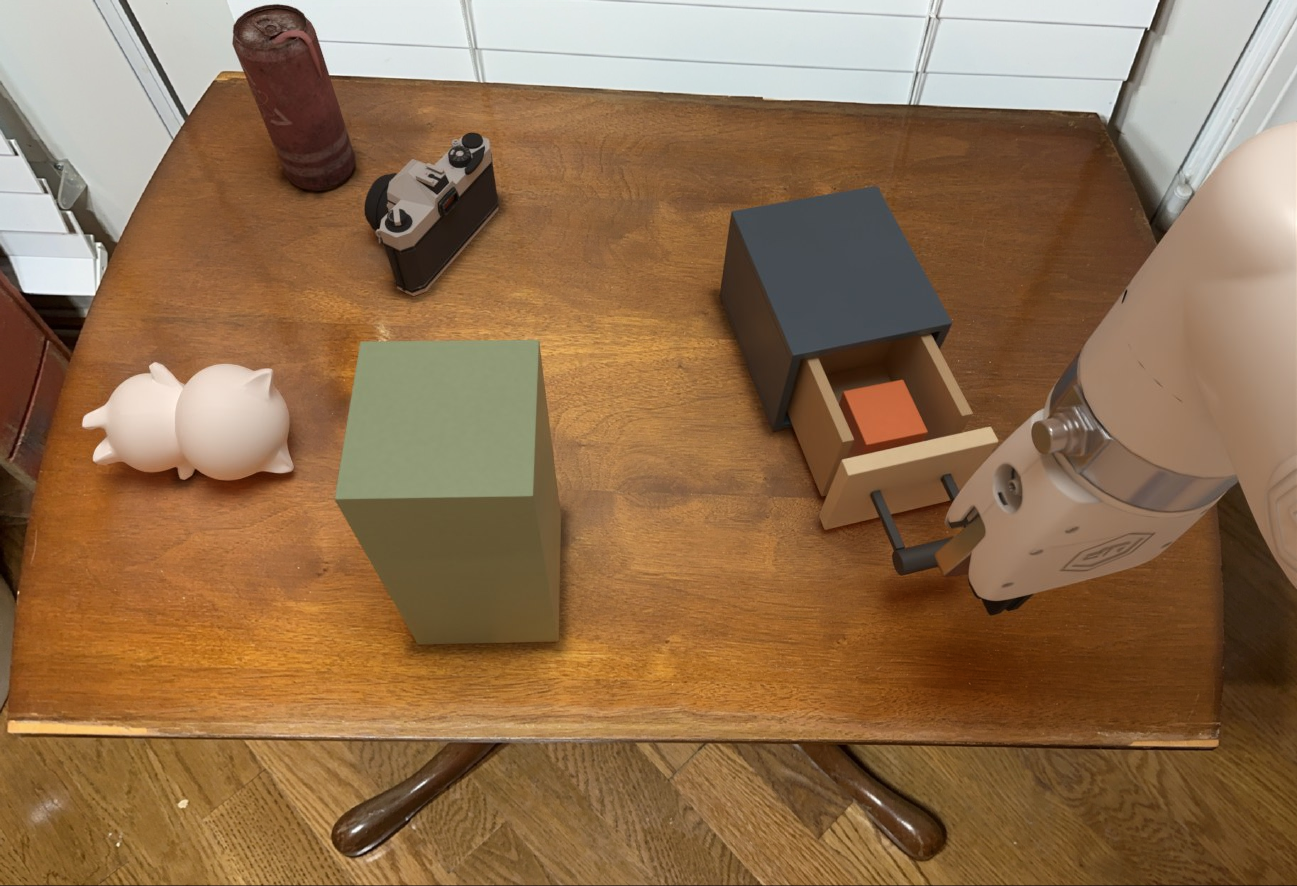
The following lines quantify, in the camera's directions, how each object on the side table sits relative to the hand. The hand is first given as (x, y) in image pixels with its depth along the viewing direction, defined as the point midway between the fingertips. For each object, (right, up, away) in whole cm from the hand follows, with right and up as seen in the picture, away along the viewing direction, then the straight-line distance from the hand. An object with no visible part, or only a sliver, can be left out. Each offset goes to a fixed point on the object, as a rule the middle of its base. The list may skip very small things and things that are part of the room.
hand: (990, 588), depth 52 cm
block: (-4, +8, +13) cm, 16 cm away
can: (-48, +32, +29) cm, 65 cm away
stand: (-30, -1, +9) cm, 31 cm away
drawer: (-3, +6, +13) cm, 15 cm away
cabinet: (-7, +16, +20) cm, 26 cm away
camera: (-38, +26, +25) cm, 52 cm away
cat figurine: (-50, +8, +14) cm, 53 cm away
